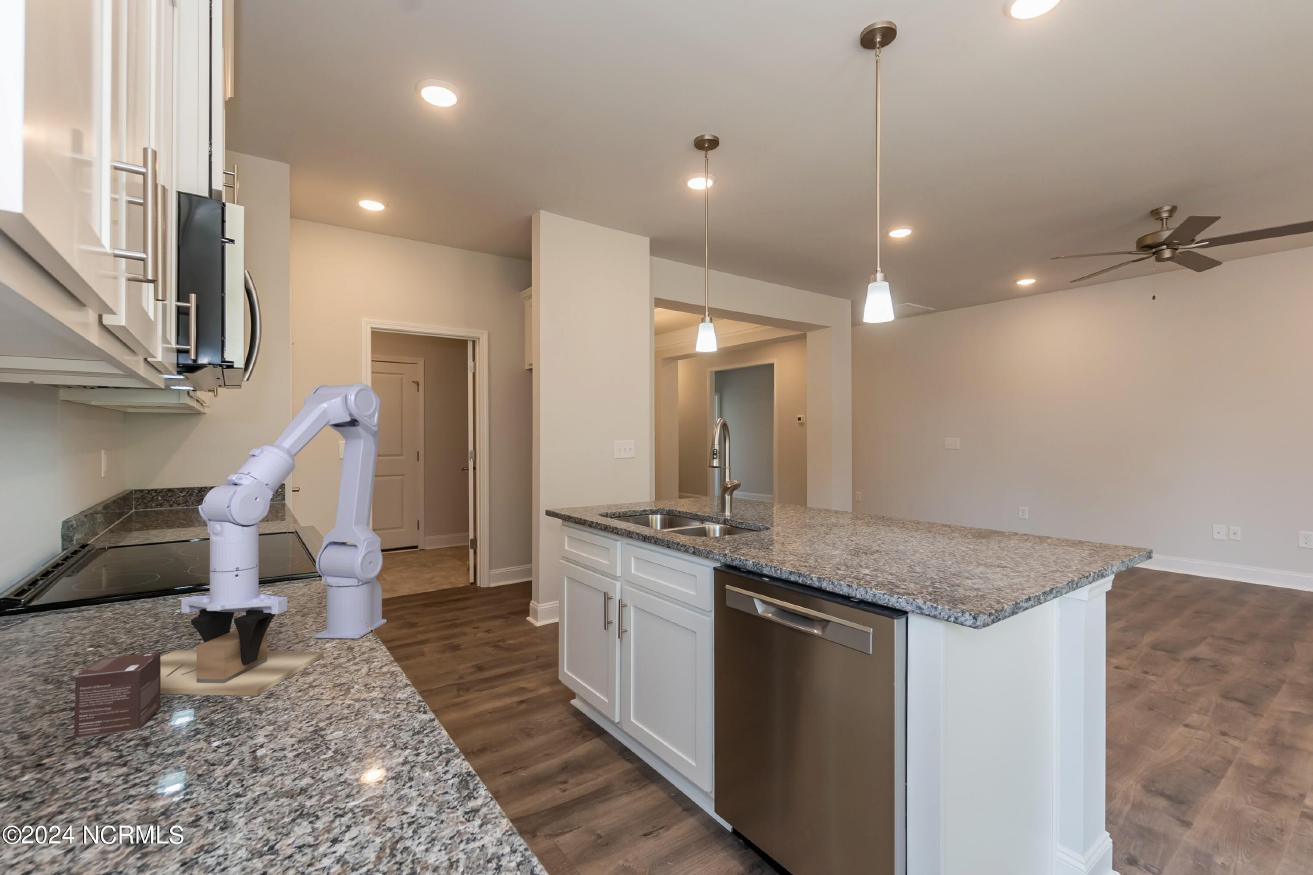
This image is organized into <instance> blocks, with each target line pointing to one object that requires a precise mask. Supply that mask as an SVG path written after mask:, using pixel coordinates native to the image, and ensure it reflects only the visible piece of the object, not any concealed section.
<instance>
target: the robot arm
mask: <svg viewBox="0 0 1313 875" xmlns="http://www.w3.org/2000/svg"><path fill="white" fill-rule="evenodd" d="M303 402H304V405H303V407H302V408H301V409H300V411H298V413H297V414H296V415H295V417H294V418H293V419H292V420H291V422H290V423H289V424H288V426H287V427H286V428H285V429H284V431H283V432H282V433H281V434H280V435H279V437H278V438H277V439H276V441H275V442H273V444H271V445H269V444H268V445H267V444H266V445H262V446H261V445H260V447H258V448H253V449H252V450H250V452H249V453H248V456H249V458H248V459H247V460H246V461H245V462H244V463H243V464H242V465H241V466H240V467H239V468H238V469H237V470H236V471H235V472H234V473H231V474H230V475H229V476H228V477H227V478H226V480H227V481H226V482H225V484H220V485H219V486H215V487H214V488H212V489H211V490H209V492H208V493H207V494H206V495H205V496H204V498H203V501H202V504H200V505H198V512H199V515H200V517H201V518H202V519H203V520H204V521H205V523H206V525H207V533H208V534H209V595H191V596H189V597H185V598H183V599H182V598H181V600H180V601H181V605H180V606H181V609H180V611H181V612H180V613H182V614H188V613H192V612H198V614H197V616H195V617H192V618H191V621H190V624H191V625H192V626H193V628H195V630H196V631H197V632H198V634H199V635H200V637H201V639H202V641H203V643H205V642H208V641H210V640H212V639H215V638H217V637H220V636H222V635H225V634H227V633H229V632H231V628H232V627H231V626H232V622H233V624H234V625H235V628H236V630H237V631H238V634H239V639H240V652H241V662H242V665H248V664H250V663H252V662H254V661H256V660H257V658H258V654H259V650H260V646H261V643H262V640H263V638H264V635H265V633H266V630H267V631H268V628H269V626H270V624H271V622H273V620H274V618H275V616H276V615H279V614H282V613H284V612H286V611H288V597H287V596H276V595H268V594H262V593H259V591H260V590H259V585H260V584H259V582H260V581H259V578H260V577H259V576H260V575H259V574H260V573H259V571H260V570H259V567H260V564H259V563H260V562H259V560H260V559H259V556H260V555H259V554H260V553H259V552H260V551H259V549H260V548H259V545H260V544H259V540H260V539H259V534H260V533H259V531H260V530H259V526H260V525H259V523H260V521H262V519H263V518H265V517H266V516H267V515H268V513H269V510H270V505H271V504H270V503H271V499H272V498H273V497H274V496H273V495H274V493H275V492H276V491H277V489H278V488H279V487H280V486H281V485H282V484H283V482H285V480H286V479H287V478H288V477H289V476H290V475H291V473H292V472H293V471H294V470H295V468H296V462H295V457H296V456H297V455H298V454H299V453H300V452H301V451H302V450H303V449H304V448H305V447H306V446H307V445H308V444H309V443H310V442H311V441H312V440H313V439H314V438H315V437H317V435H318V434H319V433H320V432H321V431H322V430H323V429H325V427H327V426H329V427H330V428H331V429H333V430H334V431H336V432H338V433H339V435H341V437H342V438H343V439H344V449H343V457H342V465H341V475H340V483H339V491H338V500H337V509H336V518H335V526H334V527H333V528H332V529H331V530H330V531H328V533H326V534H325V535H324V536H323V538H322V544H321V548H320V549H319V552H318V553H317V556H316V559H315V568H316V571H317V573H318V575H320V576H321V578H323V583H324V584H326V629H324V630H322V631H320V632H318V633H316V634H315V635H314V638H316V639H356V640H357V639H361V638H362V637H364V636H365V635H367V634H369V633H371V632H372V631H374V630H375V629H377V628H379V627H380V626H383V625H385V623H387V619H385V618H383V590H382V586H381V583H380V582H379V580H378V579H377V578H376V577H377V576H378V575H379V573H380V572H381V570H382V567H383V562H384V559H383V558H384V557H383V552H382V550H381V544H382V543H381V542H382V539H381V537H380V536H379V535H378V534H376V533H375V532H374V531H373V529H371V527H370V525H371V515H372V506H373V496H374V489H375V487H374V486H375V479H376V478H375V477H376V471H377V470H376V468H377V459H378V452H379V451H378V450H379V440H380V427H379V418H380V409H381V399H380V397H379V396H378V395H377V393H376V392H375V391H374V389H373V388H372V387H371V386H370V385H368V384H365V383H356V384H339V385H326V384H322V385H318V386H316V387H314V388H313V389H312V391H311V393H310V394H308V395H306V396H305V397H304V401H303ZM348 543H351V544H348ZM235 613H245V614H242V615H241V616H237V617H235V618H234V616H235ZM365 621H366V622H365ZM366 623H367V624H368V625H369V626H370V628H371V629H372V631H371V630H370V629H369V627H368V625H367V624H366Z"/></svg>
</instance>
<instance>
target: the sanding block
mask: <svg viewBox="0 0 1313 875" xmlns="http://www.w3.org/2000/svg"><path fill="white" fill-rule="evenodd" d="M196 650H197V682H200V683H225V682H227V681H229V680H231V679H233V678H235V677H237V676H239V675H241V674H243V673H245V672H247V671H249V670H251V669H253V668H254V667H256V666H258V665H260V664H262V663H264V662H266V661H267V651H268V629H267V630H266V633H265V635H264V638H263V640H262V643H261V646H260V650H259V654H258V658H257V660H256V661H254V662H252V663H250V664H248V665H242V662H241V652H240V639H239V634H238V631H237V629H235V630H233V631H230V632H229V633H227V634H225V635H222V636H220V637H217V638H215V639H212V640H210V641H208V642H205V643H204V642H203V643H201V644H198V645H196Z"/></svg>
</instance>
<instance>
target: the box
mask: <svg viewBox="0 0 1313 875" xmlns="http://www.w3.org/2000/svg"><path fill="white" fill-rule="evenodd" d="M161 656H162V655H161V652H159V651H156V652H148V653H141V654H140V653H139V654H130V655H121V656H110V657H104V658H103V657H102V658H101V659H99V660H98V661H96V662H95V663H93V664H92V665H89V666H88V667H87V668H85V669H84V670H83V671H81V672H80V673H78V674H76V675H75V676H74V677H75V678H74V679H75V680H74V681H75V687H74V689H75V690H74V729H73V730H74V731H73V732H74V733H73V734H74V737H73V738H74V739H76V740H80V739H86V738H93V737H100V736H104V735H106V736H107V735H110V734H111V735H112V734H120V733H122V734H123V733H128V732H134V731H138V730H140V729H141V728H142V727H143V726H144V725H145V724H146V723H147V722H148V721H149V719H150V718H151V717H153V716H154V715H155V714H156V712H157V711H159V710H160V709H161V694H160V687H161V676H160V673H161V668H160V666H161V661H160V657H161Z"/></svg>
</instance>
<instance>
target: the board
mask: <svg viewBox="0 0 1313 875" xmlns="http://www.w3.org/2000/svg"><path fill="white" fill-rule="evenodd" d="M322 658H324V651H289V650H288V651H286V650H279V651H278V650H267V661H266V662H264V663H262V664H260V665H258V666H256V667H254V668H253V669H251V670H249V671H247V672H245V673H243V674H241V675H239V676H237V677H235V678H233V679H231V680H229V681H227V682H225V683H200V682H197V649H176V650H174V651H170V652H169V653H166V654H164V655H160V661H161V666H160V668H161V673H160V676H161V687H160V695H185V696H186V695H188V696H189V695H192V696H195V695H196V696H233V697H234V696H237V697H238V696H239V697H240V696H242V697H244V696H245V697H258V696H259V695H261V694H263V693H265V692H267V691H268V690H269V689H272V688H273V687H275V686H277V685H278V684H280V683H282V682H284V681H286V680H287V679H288V678H290V677H293V675H296V674H297V673H299V672H300V671H302V670H304V669H305V668H308V667H309V666H310V665H312V664H315V663H316V662H317V661H319V660H321V659H322ZM315 661H316V662H315ZM286 678H287V679H286Z"/></svg>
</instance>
